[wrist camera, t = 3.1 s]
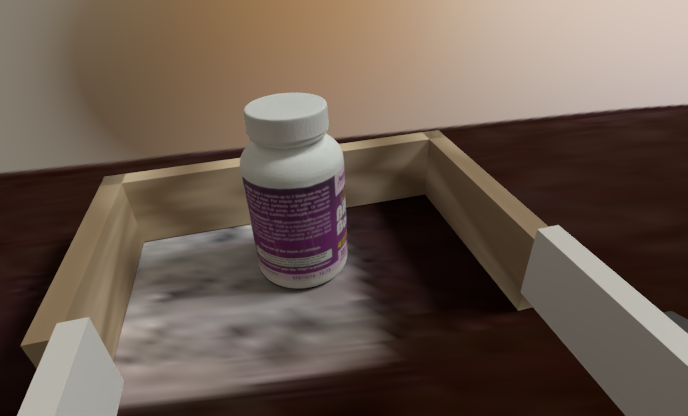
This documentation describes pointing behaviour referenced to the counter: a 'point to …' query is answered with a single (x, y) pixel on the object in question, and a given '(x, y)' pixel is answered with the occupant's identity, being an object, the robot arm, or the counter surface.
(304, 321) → the counter surface
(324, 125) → the pill bottle
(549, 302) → the robot arm
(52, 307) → the wooden frame
